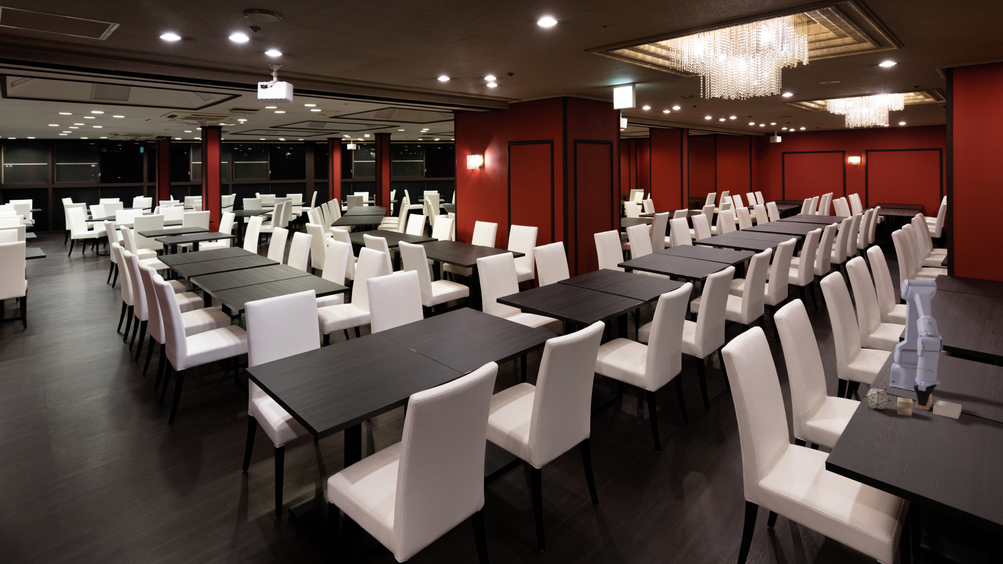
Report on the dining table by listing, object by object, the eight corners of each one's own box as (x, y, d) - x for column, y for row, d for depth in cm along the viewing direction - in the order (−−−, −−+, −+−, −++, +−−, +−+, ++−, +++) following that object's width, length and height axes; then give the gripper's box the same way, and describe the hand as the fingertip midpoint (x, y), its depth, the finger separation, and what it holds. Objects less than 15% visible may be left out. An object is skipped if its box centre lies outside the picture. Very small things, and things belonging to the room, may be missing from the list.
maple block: (897, 414, 199) (898, 401, 198) (896, 410, 202) (897, 397, 201) (911, 416, 197) (912, 403, 196) (910, 411, 200) (911, 398, 199)
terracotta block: (915, 407, 203) (916, 394, 203) (917, 404, 206) (918, 391, 205) (928, 410, 201) (930, 397, 200) (930, 406, 203) (932, 394, 202)
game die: (878, 420, 202) (880, 406, 196) (856, 405, 209) (858, 391, 202) (896, 406, 204) (899, 391, 197) (873, 391, 210) (876, 376, 203)
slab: (932, 413, 198) (933, 405, 197) (936, 407, 203) (937, 399, 202) (957, 419, 193) (958, 410, 192) (960, 412, 198) (961, 404, 197)
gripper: (937, 376, 193) (933, 412, 195) (944, 365, 203) (940, 400, 205) (912, 371, 198) (909, 407, 200) (920, 361, 208) (917, 395, 210)
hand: (923, 403), depth 203 cm, fingers closed on terracotta block, 4 cm apart
